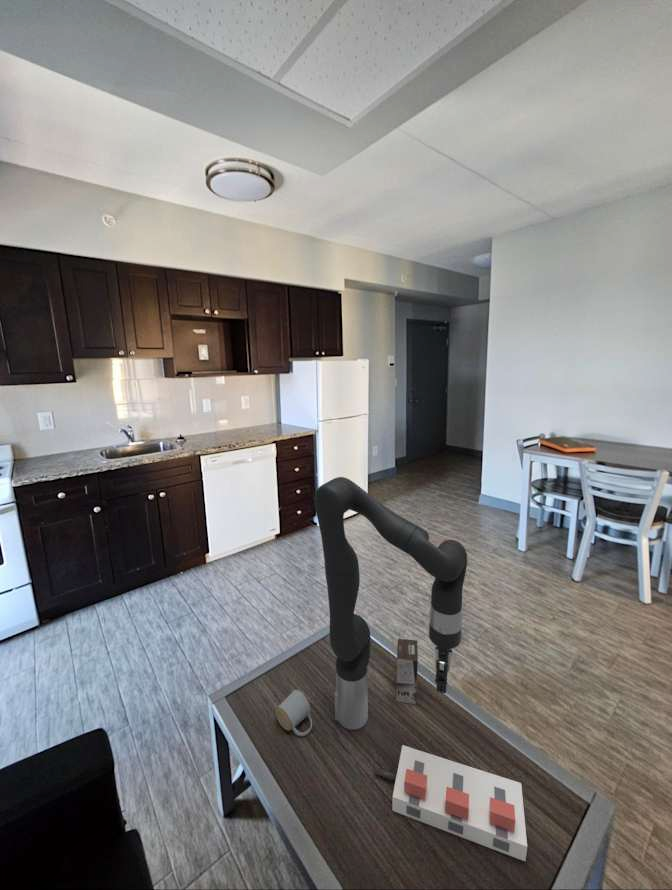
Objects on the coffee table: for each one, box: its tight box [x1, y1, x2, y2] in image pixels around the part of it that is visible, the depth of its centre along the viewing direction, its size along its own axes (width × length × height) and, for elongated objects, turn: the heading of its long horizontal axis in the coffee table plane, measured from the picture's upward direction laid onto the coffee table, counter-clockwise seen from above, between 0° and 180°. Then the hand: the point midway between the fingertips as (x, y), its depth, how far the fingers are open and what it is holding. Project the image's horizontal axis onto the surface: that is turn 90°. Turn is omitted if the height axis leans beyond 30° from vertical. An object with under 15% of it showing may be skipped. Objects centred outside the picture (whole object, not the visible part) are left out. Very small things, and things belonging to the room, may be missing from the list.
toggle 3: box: [489, 797, 515, 832], centre depth 85 cm, size 5×3×4 cm, turn 70°
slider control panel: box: [373, 744, 528, 862], centre depth 94 cm, size 35×13×5 cm, turn 70°
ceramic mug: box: [275, 689, 313, 737], centre depth 114 cm, size 11×8×8 cm
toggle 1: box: [404, 769, 427, 800], centre depth 92 cm, size 5×3×4 cm, turn 70°
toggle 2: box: [445, 787, 469, 820], centre depth 88 cm, size 5×3×4 cm, turn 70°
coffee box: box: [396, 638, 419, 705], centre depth 123 cm, size 9×6×16 cm
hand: (442, 677), depth 96 cm, fingers open, 8 cm apart
